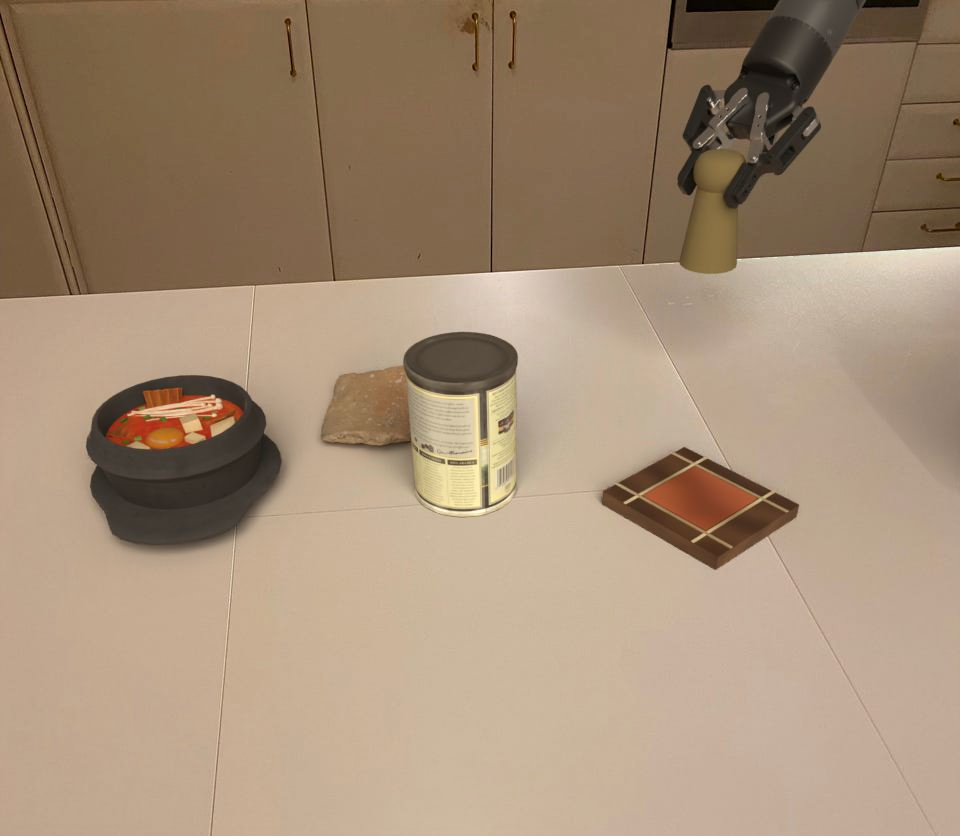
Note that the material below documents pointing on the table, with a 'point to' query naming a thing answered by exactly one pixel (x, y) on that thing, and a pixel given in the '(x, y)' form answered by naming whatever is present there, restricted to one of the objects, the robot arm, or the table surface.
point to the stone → (369, 408)
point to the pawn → (712, 215)
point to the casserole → (179, 459)
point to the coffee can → (463, 422)
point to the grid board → (700, 506)
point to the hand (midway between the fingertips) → (705, 196)
